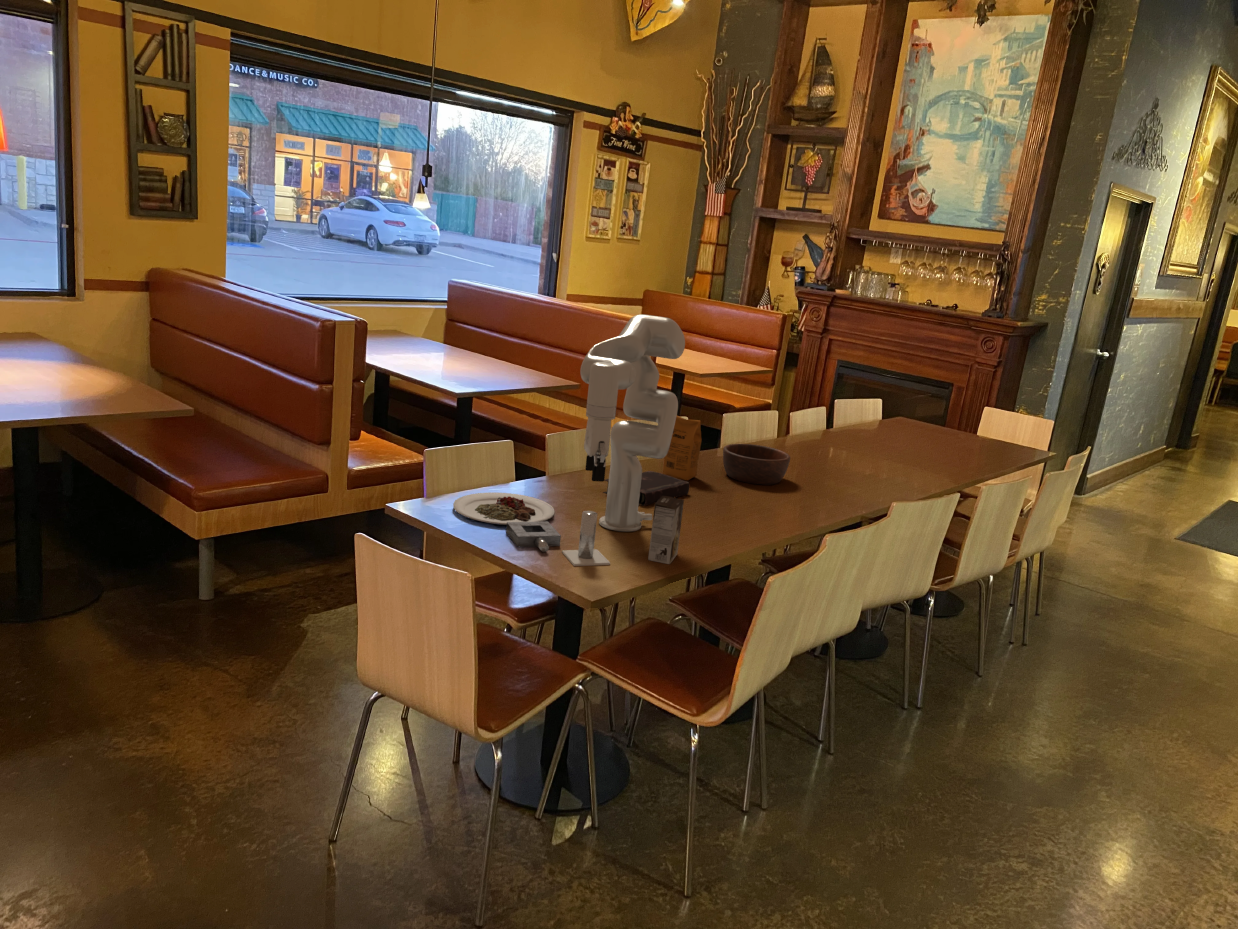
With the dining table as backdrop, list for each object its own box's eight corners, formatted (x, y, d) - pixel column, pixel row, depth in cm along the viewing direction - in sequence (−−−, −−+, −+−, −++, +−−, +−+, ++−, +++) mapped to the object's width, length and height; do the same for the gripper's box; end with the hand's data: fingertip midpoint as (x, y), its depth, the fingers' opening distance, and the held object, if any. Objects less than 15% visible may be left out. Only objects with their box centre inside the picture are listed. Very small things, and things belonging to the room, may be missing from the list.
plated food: (458, 529, 262) (459, 517, 262) (448, 497, 290) (448, 486, 289) (563, 530, 271) (564, 519, 270) (543, 499, 299) (544, 489, 298)
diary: (689, 496, 322) (690, 481, 320) (645, 508, 302) (647, 493, 301) (645, 482, 332) (647, 468, 331) (600, 493, 313) (602, 478, 312)
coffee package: (671, 470, 352) (678, 412, 346) (700, 478, 345) (708, 419, 340) (657, 474, 343) (664, 415, 338) (686, 482, 337) (694, 422, 331)
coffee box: (655, 550, 262) (662, 494, 258) (677, 554, 260) (685, 499, 256) (647, 560, 253) (653, 503, 249) (670, 564, 252) (677, 507, 248)
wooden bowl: (707, 475, 350) (711, 448, 348) (739, 465, 370) (742, 440, 368) (768, 491, 337) (772, 463, 334) (797, 480, 357) (801, 454, 355)
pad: (596, 551, 256) (597, 549, 256) (609, 564, 247) (610, 562, 247) (562, 552, 252) (562, 550, 252) (573, 566, 243) (574, 563, 243)
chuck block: (546, 531, 268) (547, 521, 267) (565, 552, 252) (566, 541, 252) (505, 532, 263) (506, 522, 262) (522, 553, 248) (523, 542, 247)
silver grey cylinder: (576, 553, 251) (581, 510, 248) (591, 553, 252) (595, 511, 249) (579, 558, 247) (583, 515, 244) (594, 559, 248) (598, 515, 245)
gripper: (581, 403, 247) (575, 465, 251) (592, 417, 231) (585, 484, 235) (609, 405, 249) (602, 467, 253) (622, 419, 232) (615, 486, 237)
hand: (594, 475), depth 244 cm, fingers open, 9 cm apart
